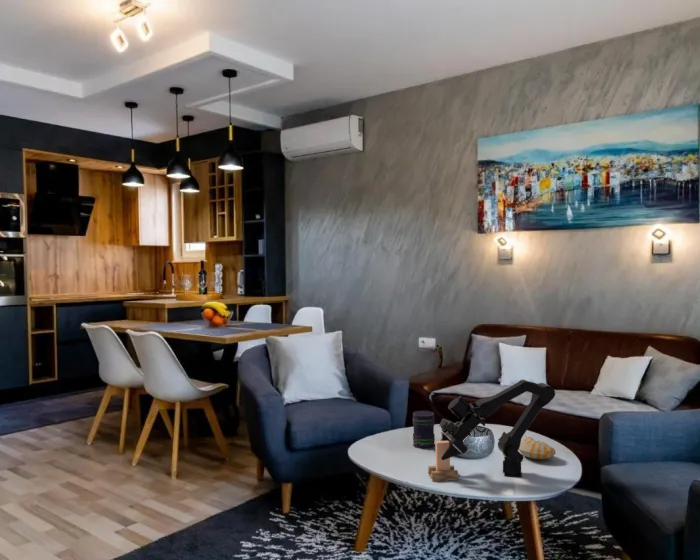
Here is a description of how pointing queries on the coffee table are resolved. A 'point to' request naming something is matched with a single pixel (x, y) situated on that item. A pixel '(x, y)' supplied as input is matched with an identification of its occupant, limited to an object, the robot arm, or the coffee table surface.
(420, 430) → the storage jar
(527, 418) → the robot arm
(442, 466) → the peach rectangular block
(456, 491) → the coffee table surface
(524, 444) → the nautilus
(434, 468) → the rack
